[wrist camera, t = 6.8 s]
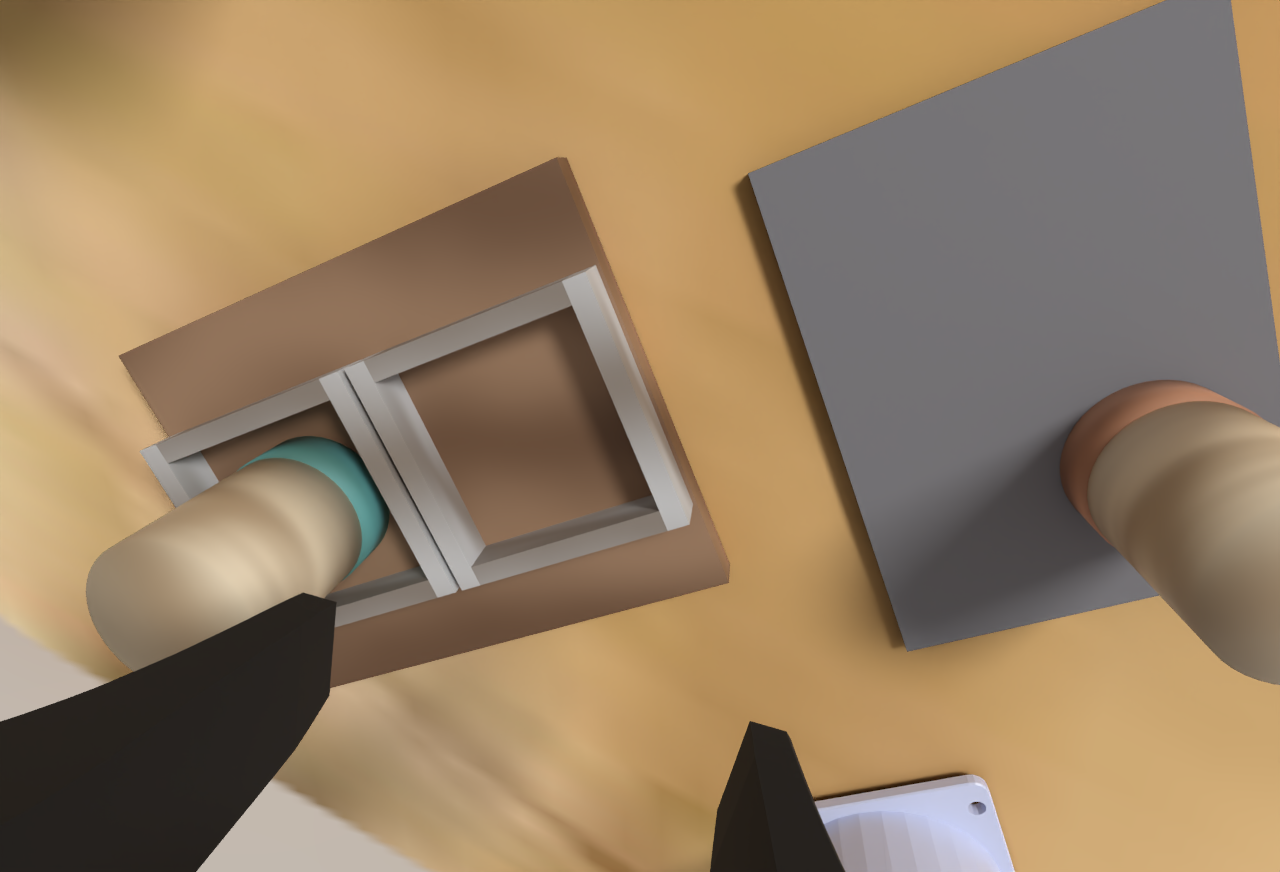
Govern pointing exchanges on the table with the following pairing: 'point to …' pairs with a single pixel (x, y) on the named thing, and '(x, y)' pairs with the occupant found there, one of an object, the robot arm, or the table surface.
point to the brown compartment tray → (455, 424)
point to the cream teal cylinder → (238, 550)
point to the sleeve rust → (1189, 509)
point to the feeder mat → (1024, 301)
